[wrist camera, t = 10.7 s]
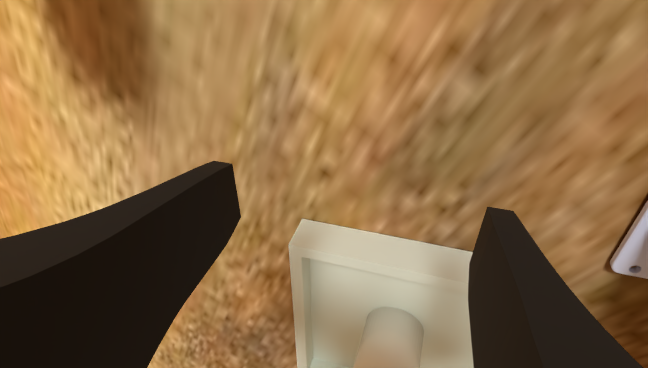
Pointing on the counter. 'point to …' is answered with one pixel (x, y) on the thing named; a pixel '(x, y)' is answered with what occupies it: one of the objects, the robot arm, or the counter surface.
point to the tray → (375, 293)
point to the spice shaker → (390, 340)
